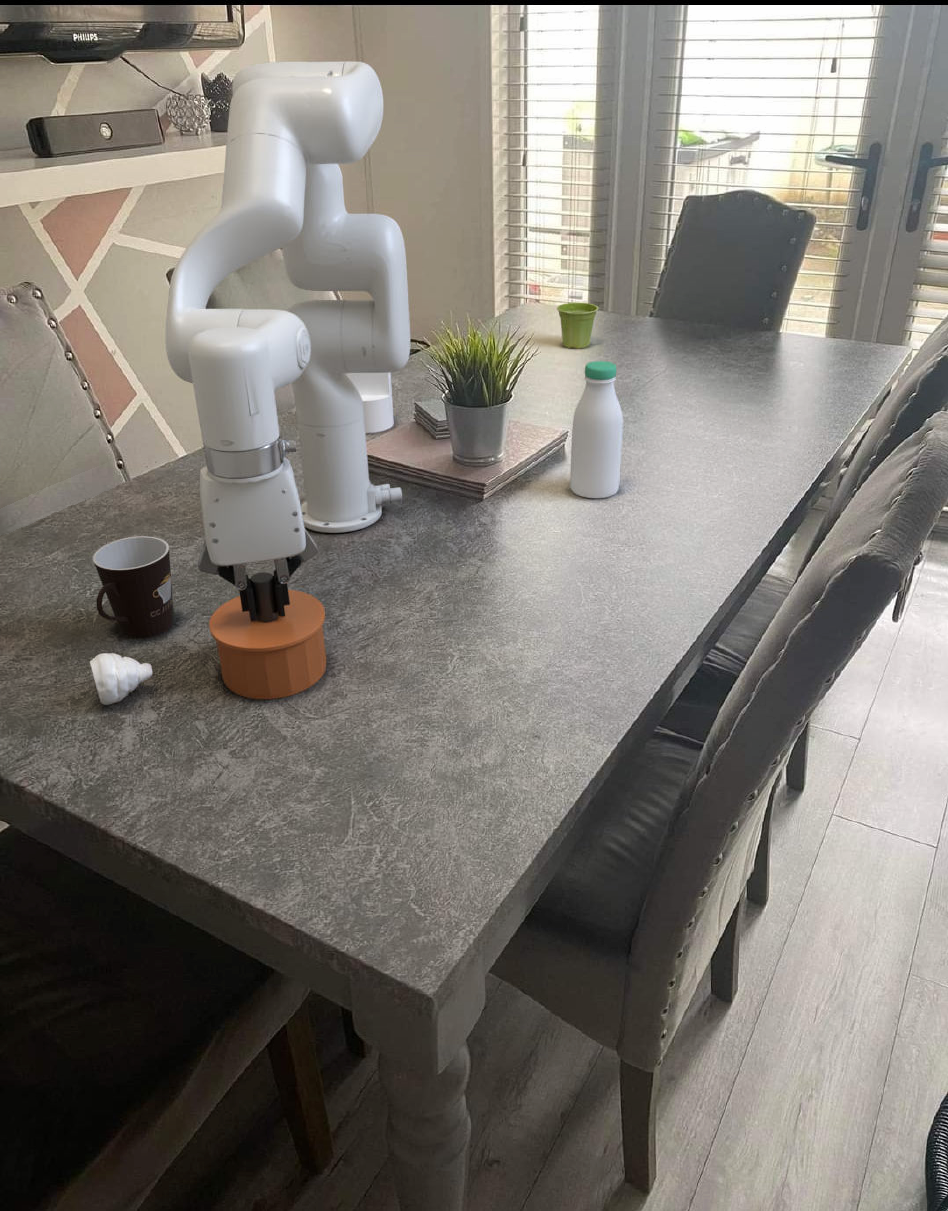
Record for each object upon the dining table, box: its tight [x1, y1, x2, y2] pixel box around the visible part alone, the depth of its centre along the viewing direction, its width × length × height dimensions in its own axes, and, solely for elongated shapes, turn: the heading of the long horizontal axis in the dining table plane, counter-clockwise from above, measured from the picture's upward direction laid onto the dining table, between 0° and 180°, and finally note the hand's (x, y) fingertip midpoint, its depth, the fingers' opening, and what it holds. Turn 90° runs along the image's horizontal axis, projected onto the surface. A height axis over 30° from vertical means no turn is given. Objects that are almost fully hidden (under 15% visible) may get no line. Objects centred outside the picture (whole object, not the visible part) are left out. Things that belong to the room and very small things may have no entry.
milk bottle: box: [569, 360, 624, 499], centre depth 147 cm, size 8×8×20 cm
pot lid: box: [208, 571, 326, 652], centre depth 105 cm, size 13×13×6 cm
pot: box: [215, 624, 327, 700], centre depth 108 cm, size 12×12×6 cm
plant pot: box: [556, 302, 599, 349], centre depth 221 cm, size 9×9×9 cm
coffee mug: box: [92, 535, 175, 640], centre depth 115 cm, size 12×9×10 cm
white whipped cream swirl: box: [89, 652, 153, 706], centre depth 104 cm, size 6×6×5 cm
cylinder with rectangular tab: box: [345, 372, 395, 434], centre depth 176 cm, size 9×9×12 cm
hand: (266, 611), depth 106 cm, fingers closed on pot lid, 2 cm apart
